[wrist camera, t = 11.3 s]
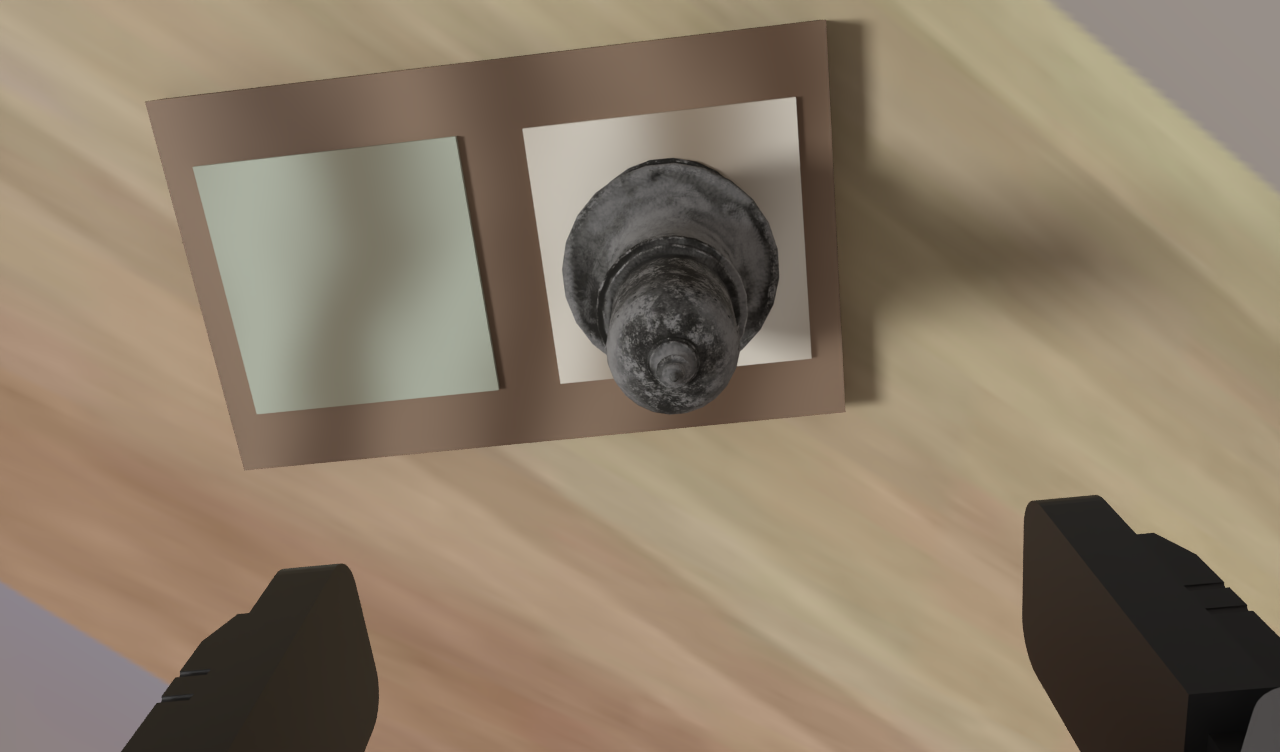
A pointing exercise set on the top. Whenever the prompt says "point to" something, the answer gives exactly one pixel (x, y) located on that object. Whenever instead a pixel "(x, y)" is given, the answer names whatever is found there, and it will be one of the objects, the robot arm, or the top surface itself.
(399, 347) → the board
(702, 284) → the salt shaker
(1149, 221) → the top surface
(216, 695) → the robot arm
